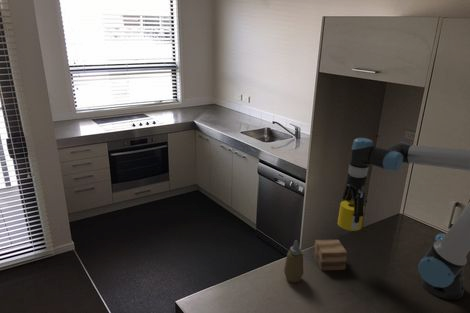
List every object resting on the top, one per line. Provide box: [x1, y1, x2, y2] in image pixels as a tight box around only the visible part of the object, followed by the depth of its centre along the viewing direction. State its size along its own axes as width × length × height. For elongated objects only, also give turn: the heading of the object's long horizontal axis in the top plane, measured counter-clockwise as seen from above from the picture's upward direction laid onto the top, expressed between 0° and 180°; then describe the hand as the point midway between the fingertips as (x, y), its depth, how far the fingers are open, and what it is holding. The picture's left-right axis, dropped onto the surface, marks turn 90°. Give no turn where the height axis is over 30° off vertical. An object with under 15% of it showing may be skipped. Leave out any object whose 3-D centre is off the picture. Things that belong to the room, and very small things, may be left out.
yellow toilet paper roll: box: [337, 200, 366, 232], centre depth 156 cm, size 10×10×9 cm
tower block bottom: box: [313, 248, 347, 271], centre depth 163 cm, size 11×11×4 cm
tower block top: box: [313, 239, 348, 263], centre depth 161 cm, size 11×11×4 cm
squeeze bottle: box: [283, 240, 304, 284], centre depth 149 cm, size 8×8×18 cm
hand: (349, 222), depth 157 cm, fingers closed on yellow toilet paper roll, 10 cm apart
